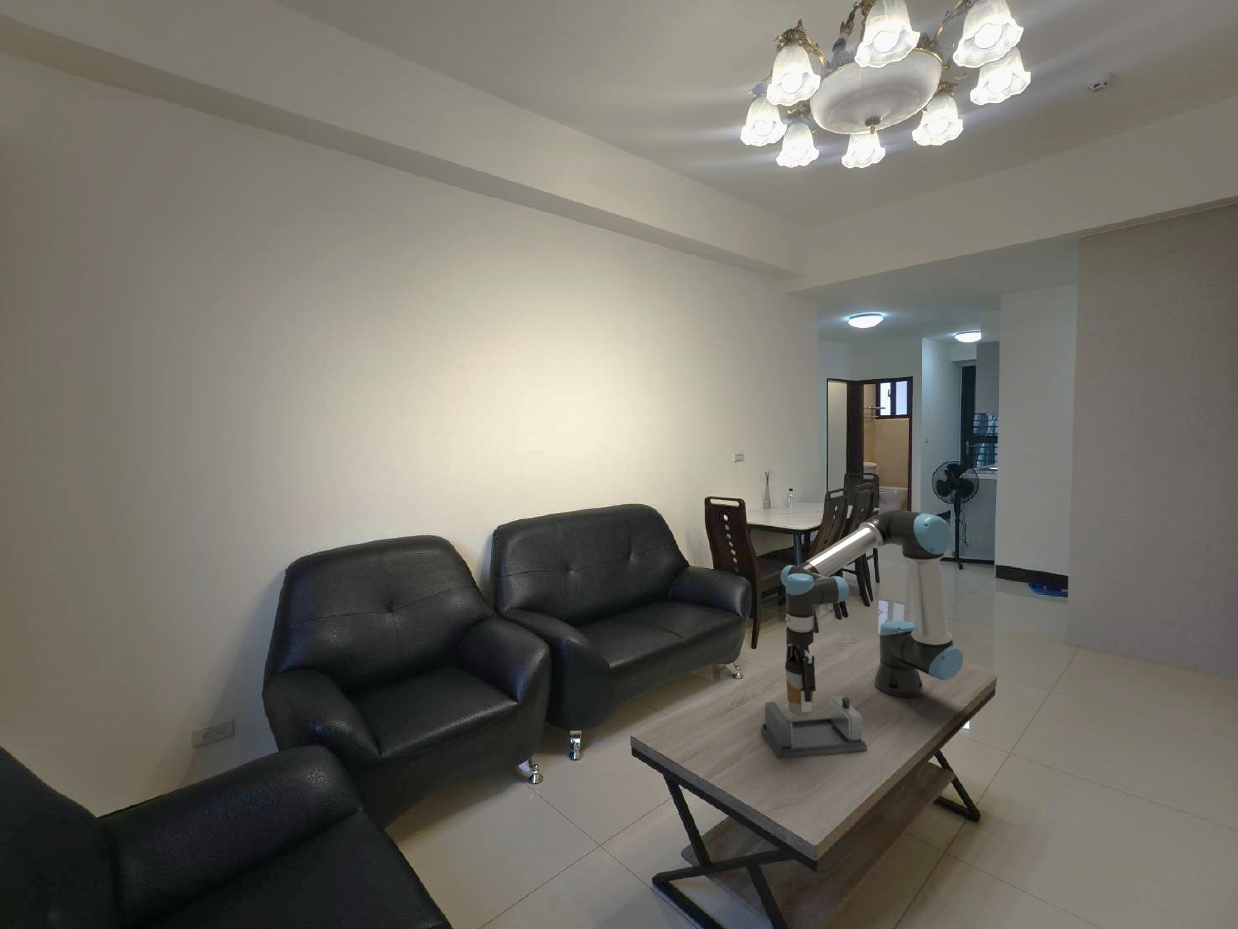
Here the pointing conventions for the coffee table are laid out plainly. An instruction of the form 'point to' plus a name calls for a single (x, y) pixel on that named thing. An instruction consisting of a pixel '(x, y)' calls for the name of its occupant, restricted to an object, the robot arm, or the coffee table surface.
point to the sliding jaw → (846, 718)
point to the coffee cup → (795, 687)
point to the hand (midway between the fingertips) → (800, 703)
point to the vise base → (804, 736)
